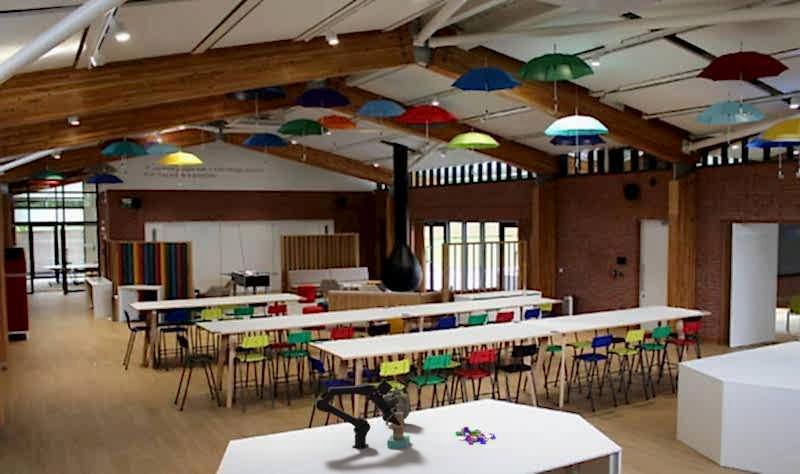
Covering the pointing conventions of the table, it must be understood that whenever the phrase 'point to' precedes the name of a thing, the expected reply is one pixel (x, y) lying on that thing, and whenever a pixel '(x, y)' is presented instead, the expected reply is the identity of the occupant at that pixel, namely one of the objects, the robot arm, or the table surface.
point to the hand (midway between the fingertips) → (400, 422)
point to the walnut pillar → (398, 427)
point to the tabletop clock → (400, 402)
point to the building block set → (470, 438)
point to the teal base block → (398, 442)
